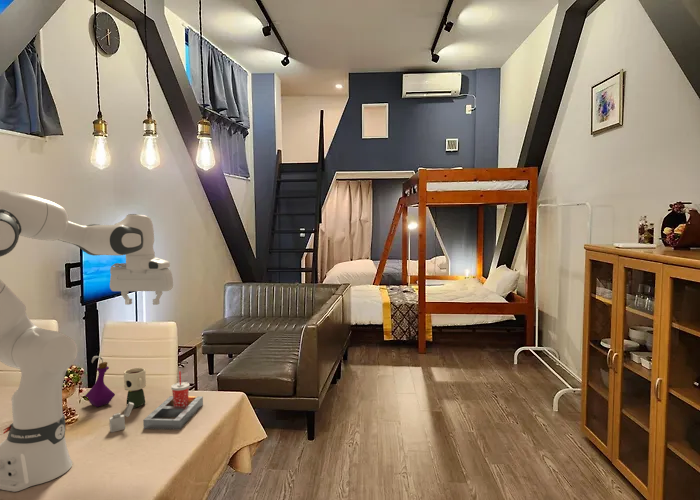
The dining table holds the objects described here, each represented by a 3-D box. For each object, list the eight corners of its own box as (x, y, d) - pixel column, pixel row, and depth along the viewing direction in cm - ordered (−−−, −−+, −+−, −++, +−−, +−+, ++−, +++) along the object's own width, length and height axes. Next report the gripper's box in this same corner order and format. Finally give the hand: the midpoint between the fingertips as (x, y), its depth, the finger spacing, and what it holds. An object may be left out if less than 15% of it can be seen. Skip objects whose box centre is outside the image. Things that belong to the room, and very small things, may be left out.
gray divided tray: (143, 428, 151) (143, 419, 151) (170, 404, 171) (170, 396, 170) (179, 429, 150) (179, 420, 150) (202, 404, 170) (202, 396, 170)
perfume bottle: (105, 398, 176) (103, 351, 175) (115, 403, 172) (113, 355, 171) (84, 405, 170) (82, 356, 169) (94, 409, 166) (92, 360, 165)
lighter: (111, 432, 148) (109, 408, 148) (109, 430, 150) (108, 406, 149) (135, 426, 153) (134, 402, 152) (133, 424, 154) (132, 400, 153)
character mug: (120, 404, 171) (118, 369, 170) (140, 398, 176) (138, 365, 175) (131, 413, 163) (130, 376, 162) (152, 407, 168) (150, 371, 167)
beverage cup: (188, 413, 163) (187, 373, 162) (170, 414, 162) (168, 374, 161) (191, 406, 169) (190, 368, 168) (174, 407, 168) (172, 368, 167)
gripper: (104, 264, 152) (106, 306, 153) (166, 264, 151) (167, 306, 152) (115, 262, 159) (117, 302, 160) (174, 262, 158) (175, 302, 159)
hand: (142, 304), depth 156 cm, fingers open, 8 cm apart
